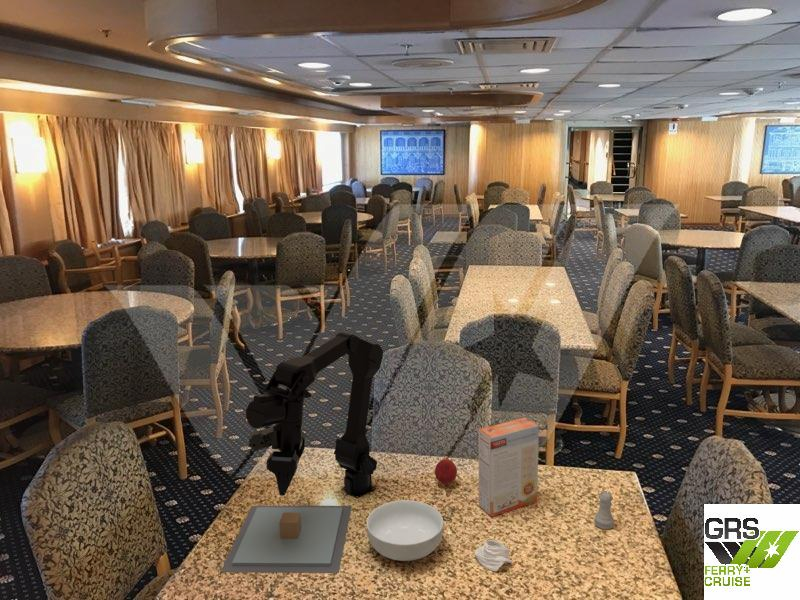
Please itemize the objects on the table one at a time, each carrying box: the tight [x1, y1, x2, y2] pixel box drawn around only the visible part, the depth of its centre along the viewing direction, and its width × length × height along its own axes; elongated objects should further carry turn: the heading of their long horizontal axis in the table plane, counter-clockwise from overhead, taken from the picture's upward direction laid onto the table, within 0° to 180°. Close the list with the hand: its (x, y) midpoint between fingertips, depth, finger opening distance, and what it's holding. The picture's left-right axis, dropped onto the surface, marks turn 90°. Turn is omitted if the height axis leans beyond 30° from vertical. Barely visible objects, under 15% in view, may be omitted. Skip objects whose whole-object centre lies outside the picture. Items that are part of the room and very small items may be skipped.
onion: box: [434, 455, 458, 486], centre depth 164 cm, size 6×6×8 cm
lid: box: [232, 507, 343, 567], centre depth 143 cm, size 21×21×5 cm
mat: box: [220, 505, 353, 574], centre depth 143 cm, size 25×25×1 cm
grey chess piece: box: [593, 490, 615, 530], centre depth 145 cm, size 4×4×8 cm
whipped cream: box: [475, 539, 513, 572], centre depth 134 cm, size 8×7×5 cm
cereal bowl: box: [365, 499, 445, 562], centre depth 138 cm, size 17×17×7 cm
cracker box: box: [477, 416, 540, 517], centre depth 153 cm, size 14×6×21 cm, turn 115°
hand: (285, 486), depth 140 cm, fingers open, 9 cm apart
